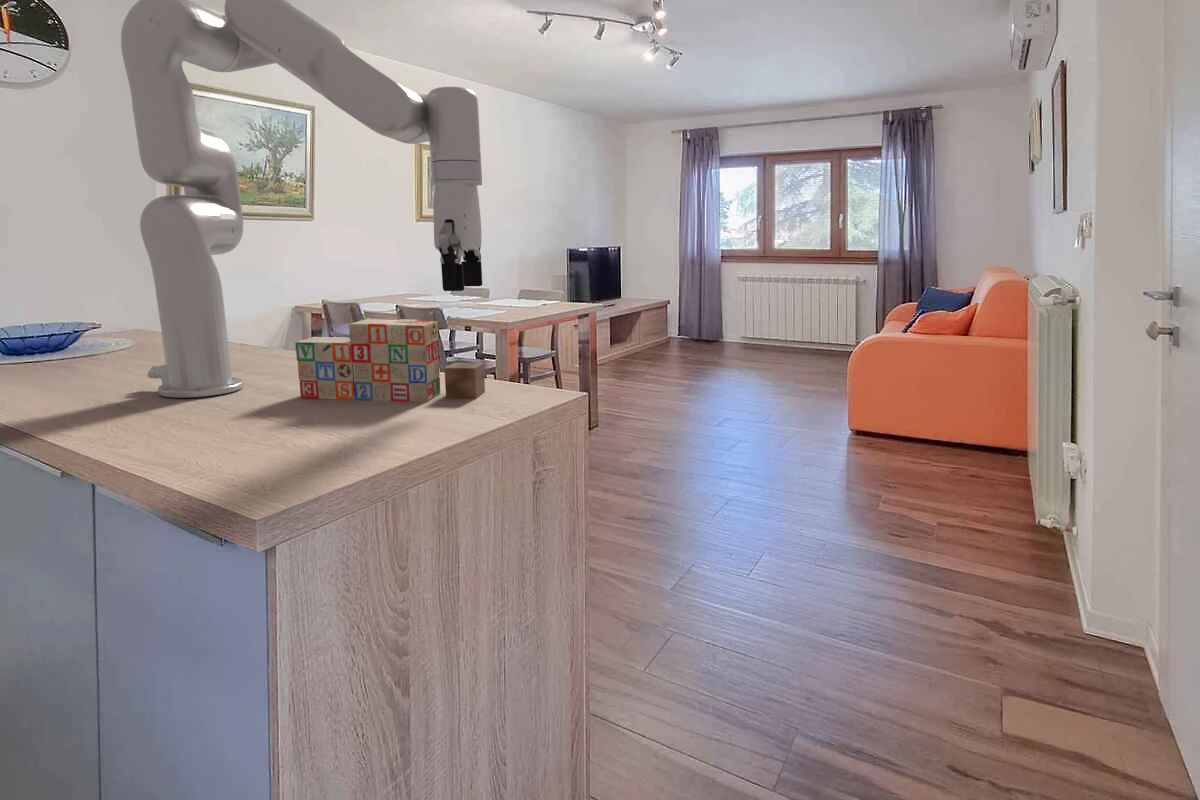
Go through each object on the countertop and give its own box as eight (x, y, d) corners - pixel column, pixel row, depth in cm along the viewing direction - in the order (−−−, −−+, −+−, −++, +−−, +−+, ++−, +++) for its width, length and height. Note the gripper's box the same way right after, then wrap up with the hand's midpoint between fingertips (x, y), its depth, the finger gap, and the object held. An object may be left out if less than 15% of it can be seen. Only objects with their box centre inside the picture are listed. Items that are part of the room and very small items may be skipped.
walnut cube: (446, 398, 120) (444, 367, 118) (455, 392, 124) (454, 362, 123) (476, 399, 119) (475, 368, 118) (485, 392, 124) (483, 362, 123)
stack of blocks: (299, 399, 119) (292, 322, 117) (318, 391, 125) (312, 318, 123) (428, 402, 117) (424, 324, 114) (441, 394, 123) (438, 319, 120)
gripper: (451, 179, 123) (457, 284, 127) (412, 171, 106) (420, 293, 110) (495, 178, 122) (500, 284, 126) (463, 170, 105) (470, 292, 109)
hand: (463, 288), depth 118 cm, fingers open, 9 cm apart
